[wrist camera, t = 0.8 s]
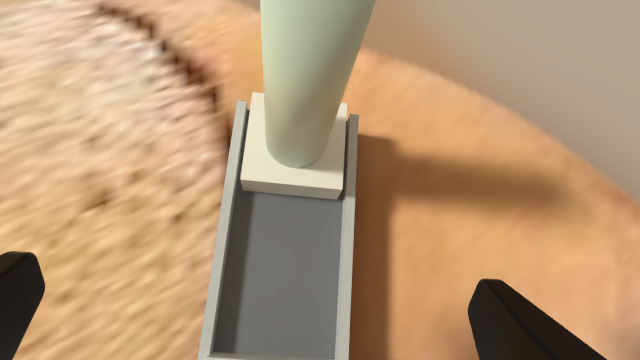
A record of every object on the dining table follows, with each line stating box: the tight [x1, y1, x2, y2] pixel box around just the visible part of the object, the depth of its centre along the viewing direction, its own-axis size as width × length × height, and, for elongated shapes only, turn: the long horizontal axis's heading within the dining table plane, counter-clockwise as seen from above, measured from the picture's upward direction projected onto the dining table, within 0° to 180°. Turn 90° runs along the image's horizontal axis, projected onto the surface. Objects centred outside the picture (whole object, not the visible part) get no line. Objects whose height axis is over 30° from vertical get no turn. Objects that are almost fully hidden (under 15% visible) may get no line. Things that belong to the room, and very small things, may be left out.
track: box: [198, 100, 359, 360], centre depth 20 cm, size 20×7×4 cm, turn 176°
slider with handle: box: [240, 0, 376, 200], centre depth 16 cm, size 5×5×14 cm
